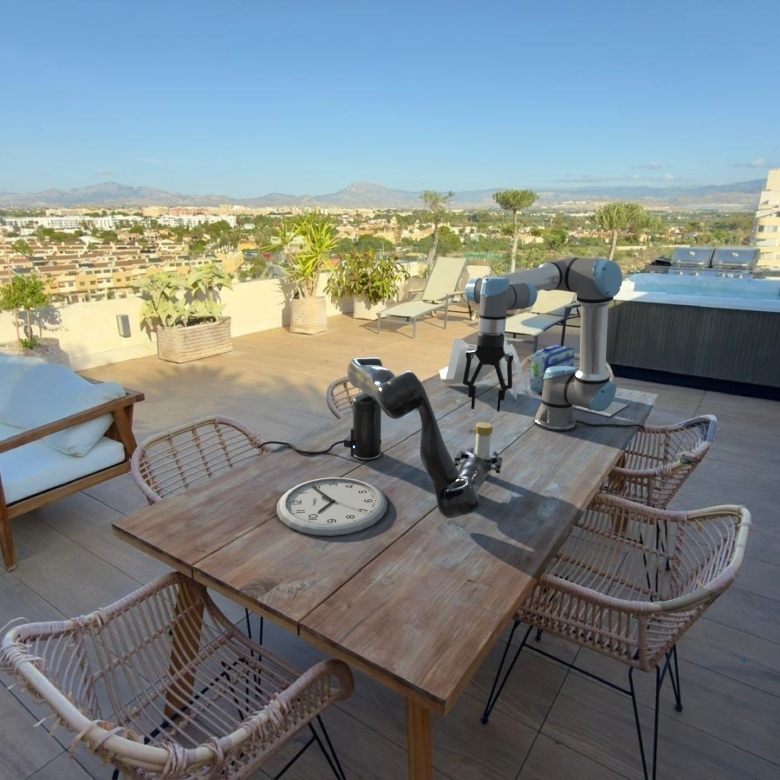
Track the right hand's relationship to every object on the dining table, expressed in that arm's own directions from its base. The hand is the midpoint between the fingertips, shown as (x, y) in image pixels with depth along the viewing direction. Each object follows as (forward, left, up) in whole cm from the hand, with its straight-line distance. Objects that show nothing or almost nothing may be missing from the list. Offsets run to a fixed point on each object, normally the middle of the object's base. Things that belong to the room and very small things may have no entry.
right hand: (485, 408), depth 155 cm
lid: (0, 0, -6) cm, 6 cm away
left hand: (0, -2, -15) cm, 15 cm away
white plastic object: (-3, -86, -22) cm, 89 cm away
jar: (0, 0, -22) cm, 22 cm away
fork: (+22, -62, -22) cm, 69 cm away
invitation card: (-55, -74, -22) cm, 95 cm away
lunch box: (-37, -95, -22) cm, 104 cm away
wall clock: (+41, +25, -22) cm, 53 cm away
